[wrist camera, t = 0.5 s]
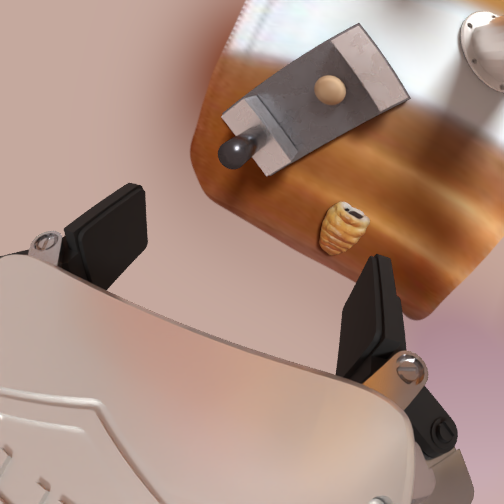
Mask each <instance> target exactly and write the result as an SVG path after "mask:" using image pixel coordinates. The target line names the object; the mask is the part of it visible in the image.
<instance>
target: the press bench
mask: <svg viewBox="0 0 504 504" xmlns="http://www.w3.org/2000/svg"><path fill="white" fill-rule="evenodd" d="M327 75H331V76H335V77H337V78H339V79H340V80H341V81H342V82H343V83H344V85H345V88H346V95H345V98H344V99H343V100H342V101H341V102H340V103H338V104H336V105H327V104H324V103H322V102H321V101H320V100H319V99H318V98H317V97H316V95H315V92H314V86H315V83H316V82H317V80H318V79H319V78H321V77H323V76H327ZM252 96H257V97H258V98H259V100H260V101H261V102H262V103H263V105H264V106H265V107H266V109H267V110H268V111H269V113H270V114H271V115H272V116H273V118H274V119H275V120H276V122H277V123H278V124H279V126H280V127H281V129H282V130H283V131H284V133H285V134H286V135H287V137H288V138H289V140H290V141H291V142H292V144H293V145H294V147H295V148H296V149H297V151H298V152H297V154H296V155H295V157H294V158H293V160H292V161H291V162H290V163H288V164H287V165H285V166H283V167H282V168H280V169H278V170H277V171H275V172H273V173H272V174H270V175H269V176H271V175H273V174H274V173H276V172H278V171H279V170H281V169H283V168H284V167H286V166H288V165H289V164H291V163H293V162H294V161H296V160H298V159H299V158H301V157H303V156H305V155H306V154H308V153H310V152H312V151H313V150H315V149H317V148H319V147H320V146H322V145H324V144H326V143H327V142H329V141H331V140H333V139H334V138H336V137H338V136H340V135H342V134H344V133H345V132H347V131H349V130H351V129H353V128H355V127H356V126H358V125H360V124H362V123H364V122H366V121H368V120H370V119H371V118H373V117H375V116H377V115H379V114H381V113H383V112H385V111H387V110H389V109H391V108H393V107H395V106H397V105H399V104H401V103H403V102H405V101H407V100H409V99H411V98H410V96H409V95H408V93H407V91H406V89H405V88H404V86H403V84H402V83H401V81H400V80H399V78H398V76H397V75H396V73H395V72H394V70H393V69H392V67H391V66H390V64H389V63H388V61H387V60H386V58H385V57H384V55H383V54H382V52H381V51H380V50H379V48H378V47H377V45H376V44H375V43H374V41H373V40H372V39H371V37H370V36H369V35H368V34H367V32H366V31H365V30H364V28H363V27H362V26H361V25H360V23H358V24H356V25H354V26H352V27H350V28H348V29H346V30H345V31H343V32H341V33H339V34H337V35H336V36H334V37H332V38H330V39H329V40H327V41H325V42H323V43H322V44H320V45H318V46H317V47H315V48H313V49H312V50H310V51H309V52H307V53H305V54H304V55H302V56H301V57H299V58H298V59H296V60H295V61H293V62H291V63H290V64H288V65H287V66H285V67H284V68H283V69H281V70H280V71H278V72H277V73H275V74H274V75H272V76H271V77H270V78H268V79H267V80H265V81H264V82H263V83H261V84H260V85H258V86H257V87H256V88H254V89H253V90H252V91H250V92H249V93H248V94H246V95H245V96H244V97H242V98H241V99H240V100H239V101H237V102H236V103H235V104H234V105H232V106H231V107H230V108H229V109H227V110H226V111H225V112H224V113H222V114H223V115H224V114H225V113H226V112H227V111H228V110H230V109H231V108H232V107H234V106H235V105H236V104H237V103H239V102H240V101H241V100H242V99H244V98H248V97H252Z"/></svg>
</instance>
